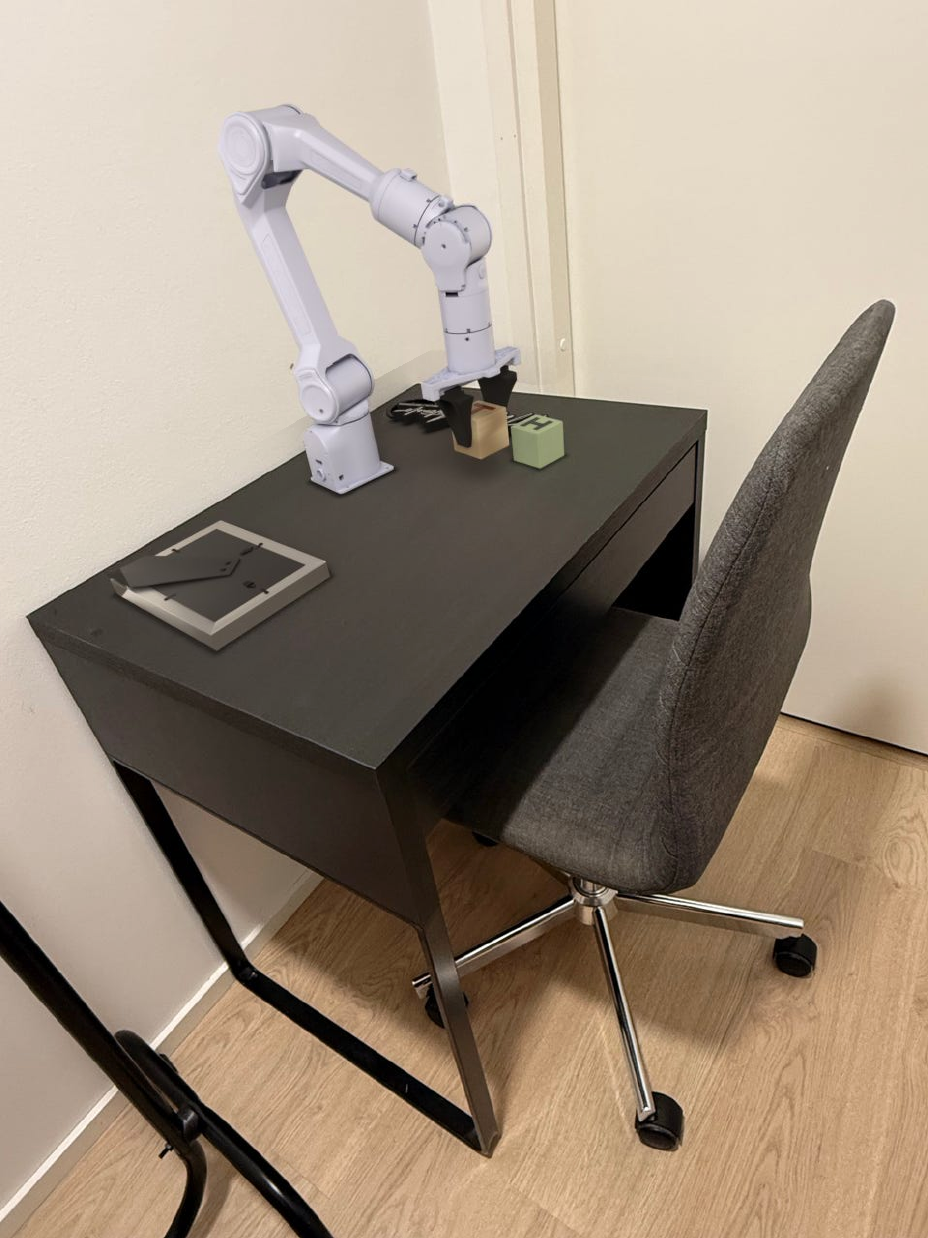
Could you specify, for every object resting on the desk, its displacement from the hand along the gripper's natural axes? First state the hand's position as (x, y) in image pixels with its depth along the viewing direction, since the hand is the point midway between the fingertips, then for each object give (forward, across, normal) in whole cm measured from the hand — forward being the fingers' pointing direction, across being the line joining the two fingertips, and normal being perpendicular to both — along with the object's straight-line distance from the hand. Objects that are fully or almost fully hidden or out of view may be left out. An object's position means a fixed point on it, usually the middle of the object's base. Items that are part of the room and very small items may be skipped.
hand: (480, 437), depth 94 cm
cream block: (+1, 0, 0) cm, 1 cm away
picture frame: (+8, -35, +8) cm, 37 cm away
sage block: (+7, +11, +1) cm, 13 cm away
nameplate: (+7, +14, +20) cm, 25 cm away
